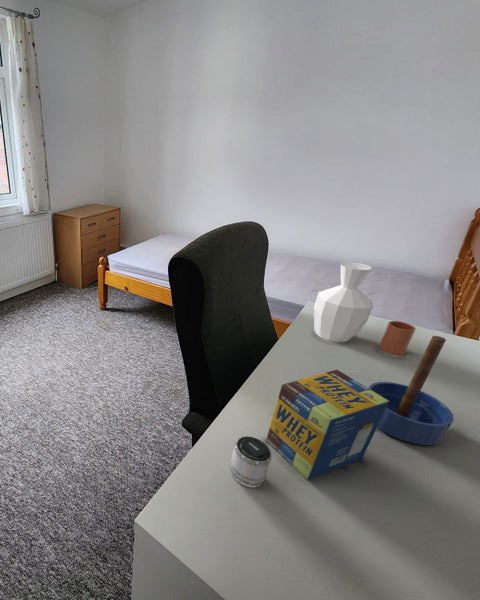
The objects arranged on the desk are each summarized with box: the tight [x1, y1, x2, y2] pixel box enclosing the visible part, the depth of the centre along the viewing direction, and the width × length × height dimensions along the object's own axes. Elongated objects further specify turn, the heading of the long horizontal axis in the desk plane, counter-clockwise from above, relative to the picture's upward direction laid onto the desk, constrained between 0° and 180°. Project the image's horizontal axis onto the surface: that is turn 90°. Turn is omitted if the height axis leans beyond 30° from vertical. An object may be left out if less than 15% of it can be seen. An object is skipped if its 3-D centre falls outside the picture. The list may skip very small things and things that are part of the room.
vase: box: [313, 261, 374, 343], centre depth 107 cm, size 14×14×25 cm
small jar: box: [230, 436, 272, 489], centre depth 65 cm, size 6×6×8 cm
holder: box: [378, 320, 417, 356], centre depth 102 cm, size 6×6×9 cm
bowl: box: [367, 381, 455, 446], centre depth 77 cm, size 14×14×6 cm
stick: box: [396, 335, 447, 418], centre depth 73 cm, size 2×2×22 cm
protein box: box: [265, 369, 389, 480], centre depth 68 cm, size 10×15×16 cm
